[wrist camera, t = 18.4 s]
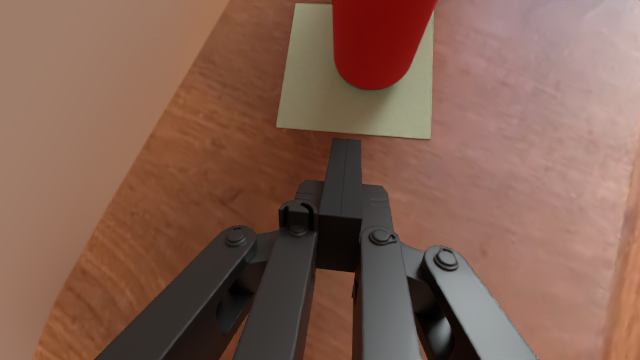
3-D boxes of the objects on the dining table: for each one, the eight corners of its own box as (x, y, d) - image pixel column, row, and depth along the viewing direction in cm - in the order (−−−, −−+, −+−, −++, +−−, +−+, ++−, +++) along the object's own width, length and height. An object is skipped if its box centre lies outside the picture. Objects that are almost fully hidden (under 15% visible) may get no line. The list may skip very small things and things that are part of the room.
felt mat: (276, 127, 21) (275, 127, 21) (295, 4, 24) (295, 3, 24) (430, 139, 20) (430, 139, 20) (433, 8, 23) (433, 7, 23)
